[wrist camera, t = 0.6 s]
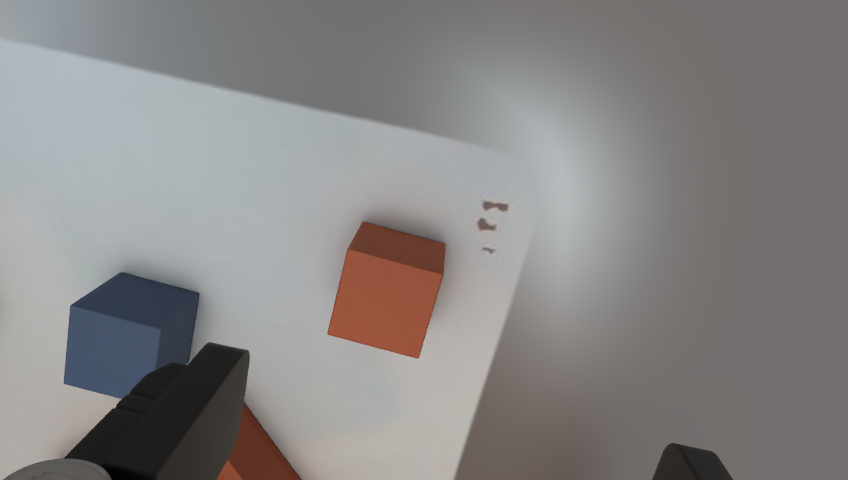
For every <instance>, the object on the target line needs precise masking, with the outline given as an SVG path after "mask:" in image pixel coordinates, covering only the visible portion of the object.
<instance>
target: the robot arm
mask: <svg viewBox="0 0 848 480" xmlns="http://www.w3.org/2000/svg"><path fill="white" fill-rule="evenodd" d="M249 359H250V355H249V351H248V350H243V349H239V348H234V347H229V346H225V345H220V344H216V343H211V342H209V343H207V344H206V345H205V346H204V347H203V348H202V349H201V350H200V352H199V353H198V354H197V355H196V356H195V357H194V358H193V359H192V361H191V362H190V363H189V364H188V365H183V364H179V363H174V362H171V363H169V364H167V365H165V366H163V367H161V368H159V369H156V370H154V371H152V372H150V373H148V374H146V375H145V376H144V377H143V378H142V379H141V380H140V382H139V383H138V384H137V385H136V386H135V387H134V388H133V389H132V390H131V391H130V394H127V395H126V396H125V397H124V398H123V399H122V400H121V401H120V402H119V403H118V404H117V406H116V408H115V409H114V408H113V409H112V410H111V411H110V412H109V413H108V414H107V415H106V416H105V417H104V418H103V419H102V420H101V421H100V422H99V423H98V424H97V425H96V426H95V427H94V428H93V429H92V430H91V431H90V432H89V433H88V434H87V435H86V436H85V437H84V438H83V439H82V440H81V441H80V442H79V443H78V444H77V445H76V446H75V448H74V449H73V450H72V451H71V452H70V453H69V454H68V455H67V456H66V457H65V458H64V459H54V460H47V461H43V462H39V463H35V464H32V465H29V466H27V467H24V468H22V469H20V470H18V471H16V472H14V473H12V474H11V475H9V476H8V477H6V478H5V479H4V480H217V478H218V476H219V474H220V473H221V471H222V469H223V467H224V466H225V464H226V462H227V460H228V459H229V457H230V455H231V453H232V450H233V448H234V445H235V442H236V439H237V436H238V433H239V429H240V424H241V418H242V411H243V403H244V396H245V389H246V382H247V375H248V368H249ZM652 480H733V479H732V477H731V476H730V474H729V473H728V471H727V470H726V468H725V467H724V465H723V464H722V462H721V461H720V459H719V458H718V456H717V455H716V454H715V453H714V452H712V451H707V450H703V449H698V448H694V447H689V446H684V445H680V444H675V443H671V444H669V445H668V446H667V447H666V448H665V449H664V451H663V453H662V456H661V458H660V461H659V463H658V466H657V469H656V471H655V474H654V476H653V479H652Z"/></svg>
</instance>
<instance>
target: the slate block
mask: <svg viewBox="0 0 848 480" xmlns="http://www.w3.org/2000/svg"><path fill="white" fill-rule="evenodd" d="M198 298H199V293H196V292H192V291H188V290H184V289H181V288H177V287H173V286H169V285H166V284H162V283H158V282H154V281H151V280H147V279H143V278H139V277H136V276H132V275H128V274H124V273H119V274H117V275H116V276H114V277H113V278H111V279H110V280H108V281H107V282H105V283H104V284H102V285H101V286H99V287H98V288H96V289H95V290H93V291H92V292H90V293H89V294H87V295H85V296H84V297H82V298H81V299H79V300H78V301H76V302H75V303H73V304H72V305H71V306H70V317H69V328H68V340H67V352H66V363H65V375H64V384H67V385H71V386H75V387H78V388H82V389H86V390H90V391H94V392H98V393H101V394H105V395H109V396H113V397H117V398H121V399H123V398H124V397H125V396H126V395H127V394H130V391H131V390H132V389H133V388H134V387H135V386H136V385H137V384H138V383H139V382H140V380H141V379H142V378H143V377H144V376H145V375H146V374H148V373H150V372H152V371H154V370H156V369H159V368H161V367H163V366H165V365H167V364H169V363H171V362H174V363H179V364H183V365H186V364H187V363H188V361H189V355H190V349H191V342H192V336H193V330H194V323H195V317H196V311H197V305H198Z"/></svg>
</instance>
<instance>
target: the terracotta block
mask: <svg viewBox="0 0 848 480" xmlns="http://www.w3.org/2000/svg"><path fill="white" fill-rule="evenodd" d="M444 258H445V244H443V243H440V242H436V241H432V240H429V239H425V238H421V237H418V236H414V235H410V234H407V233H403V232H399V231H396V230H392V229H388V228H385V227H381V226H377V225H373V224H370V223H366V222H363V223H362V224H361V226H360V228H359V230H358V232H357V233H356V235H355V237H354V239H353V241H352V242H351V244H350V246H349V248H348V250H347V254H346V258H345V262H344V266H343V270H342V275H341V279H340V283H339V287H338V291H337V295H336V300H335V304H334V308H333V312H332V316H331V321H330V325H329V329H328V335H331V336H335V337H339V338H342V339H346V340H350V341H354V342H357V343H361V344H365V345H369V346H372V347H376V348H380V349H384V350H387V351H391V352H395V353H399V354H402V355H406V356H410V357H414V358H419V355H420V352H421V348H422V345H423V342H424V338H425V335H426V332H427V328H428V325H429V322H430V318H431V315H432V311H433V308H434V305H435V301H436V298H437V295H438V291H439V288H440V285H441V281H442V278H443V272H444Z"/></svg>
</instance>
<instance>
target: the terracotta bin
mask: <svg viewBox="0 0 848 480" xmlns="http://www.w3.org/2000/svg"><path fill="white" fill-rule="evenodd" d="M217 480H301V479H300V478H299V477H298V475H297V474H296V473H295V471H294V470H293V469H292V467H291V466H290V465H289V463H288V462H287V461H286V459H285V458H284V457H283V455H282V454H281V453H280V451H279V450H278V448H277V447H276V446H275V444H274V443H273V442H272V440H271V439H270V438H269V436H268V435H267V434H266V432H265V431H264V430H263V428H262V427H261V426H260V424H259V423H258V422H257V420H256V419H255V418H254V416H253V415H252V413H251V412H250V411H249V409H248V408H247V407H246V405H245V404H244V403H243V411H242V418H241V424H240V429H239V433H238V436H237V439H236V442H235V445H234V448H233V450H232V453H231V455H230V457H229V459H228V460H227V462H226V464H225V466H224V467H223V469H222V471H221V473H220V474H219V476H218V478H217Z"/></svg>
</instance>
